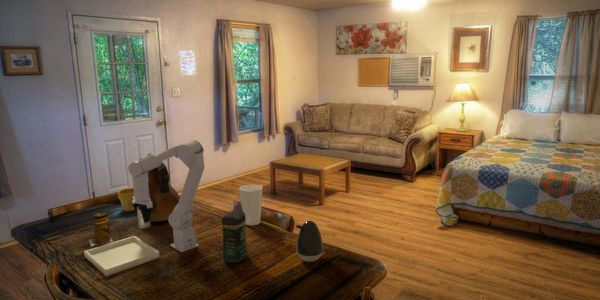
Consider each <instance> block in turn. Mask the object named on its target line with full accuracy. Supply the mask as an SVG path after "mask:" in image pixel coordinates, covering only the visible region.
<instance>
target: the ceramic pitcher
mask: <svg viewBox="0 0 600 300" xmlns="http://www.w3.org/2000/svg"><path fill="white" fill-rule="evenodd" d="M147 178H148V189H149V198H150V200H151V202H152V205H153V206H154V208H153V209H152V212H151V216H150V223H153V222H164V221H168V218H169V216H170V214H172V212H173V210H174V208H175V207H176V206H177V204H178V203H179V199H180V195H179V194H178V192H177V190H176V189H175V188H174V187H173V186H172V185H171V184H170V174H169V170H168V168H167V166H166V164H165V163H164V161H162V163H161V165H160V166H159V167H156V168H154V169H152V170H150V171H148V176H147Z"/></svg>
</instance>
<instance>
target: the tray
mask: <svg viewBox="0 0 600 300" xmlns="http://www.w3.org/2000/svg"><path fill="white" fill-rule="evenodd" d="M83 253H84V254H83V255H84V258H85V259H86V260H88V262H90V263H91V264H92V265H93V266H94V267H95V268H96V269H97V270H99V271H100V273H102V274H103V275H104V276H105V277H109V276H112V275H115V274H117V273H120V272H123V271H126V270H129V269H131V268H134V267H137V266H140V265H142V264H145V263H147V262H151V261H154V260H156V259H159V258H160V251H159V250H158V249H156V248H154V247H153V246H152V245H149V244H148V243H146V242H145V241H143V240H142V239H140V238H139V237H137V236H136V235H132V236H130V237H127V238H123V239H120V240H116V241H113V242H109V243H105V244H101V245H98V246H95V247H93V248H90V249H87V250H86V249H85V250H84V251H83Z"/></svg>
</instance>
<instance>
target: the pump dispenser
mask: <svg viewBox="0 0 600 300" xmlns="http://www.w3.org/2000/svg"><path fill="white" fill-rule="evenodd" d="M295 228H296V229H299V231H298V235H297V239H296V246H295V252H296V253H297V255H298V257H299V259H301V260H302V261H304V262H308V263H312V262H313V263H314V262H316V261H317V260H319V259H320V258H321V257H322V255H323V251H324V245H323V238H322V233H321V232H320V229H319V227H318V225H317V224H316V222H315V221H313V220H306V221H304V222H303V223H302V225H300V224H296V225H295Z"/></svg>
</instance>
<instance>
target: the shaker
mask: <svg viewBox="0 0 600 300" xmlns="http://www.w3.org/2000/svg"><path fill="white" fill-rule="evenodd" d="M142 206H143V204H141V205H138V206H137V211H138V216H137V219H138V221H137V223H138V229H148V228H150V227H151V225H152V224H151V222H146V223H144V221H143V217H142V213H141V211H140V209H139V207H142Z"/></svg>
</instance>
